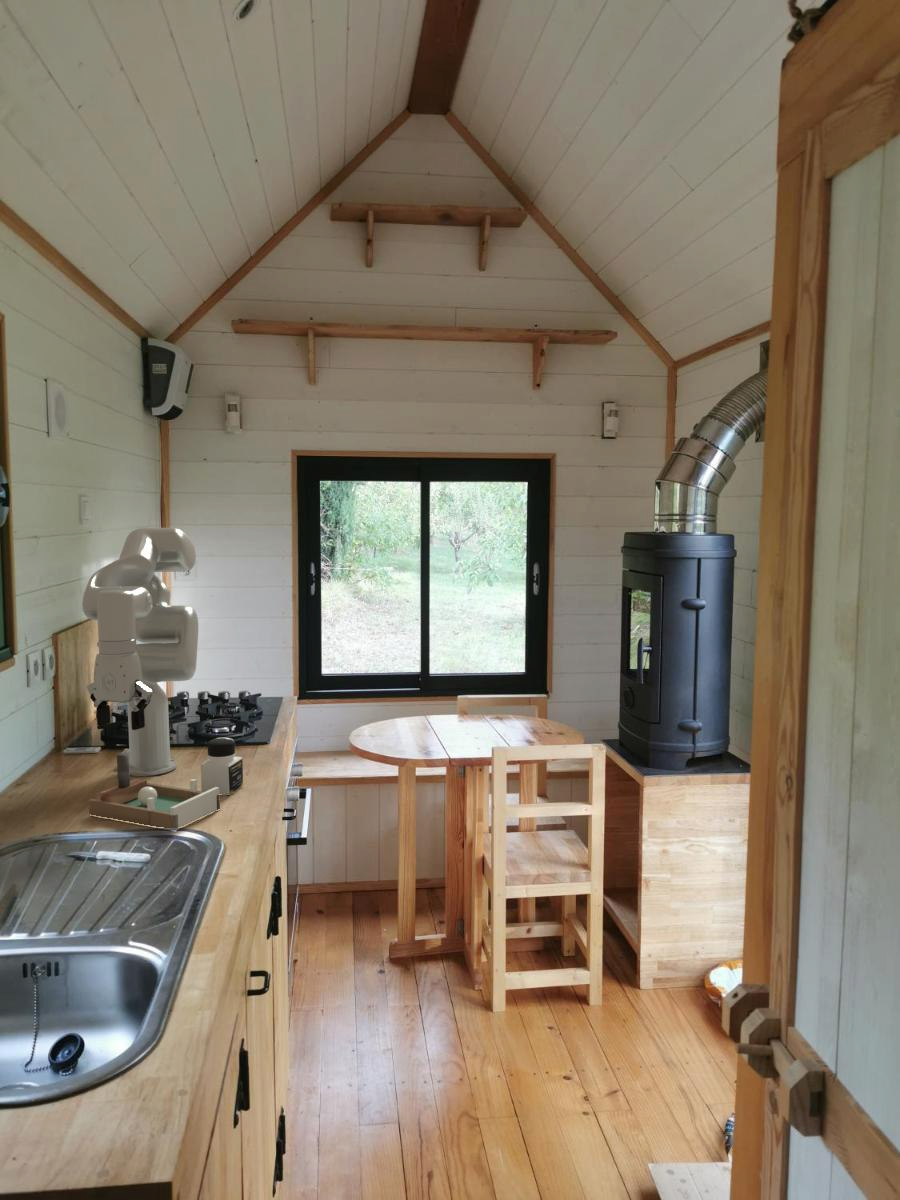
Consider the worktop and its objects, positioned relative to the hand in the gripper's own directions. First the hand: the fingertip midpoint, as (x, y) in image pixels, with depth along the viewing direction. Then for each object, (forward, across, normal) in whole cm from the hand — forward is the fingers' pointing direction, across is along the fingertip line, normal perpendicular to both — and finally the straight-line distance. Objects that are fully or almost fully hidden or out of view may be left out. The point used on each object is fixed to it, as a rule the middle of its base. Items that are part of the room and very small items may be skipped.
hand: (120, 726), depth 187 cm
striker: (+16, 0, +1) cm, 16 cm away
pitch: (+18, +8, +1) cm, 20 cm away
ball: (+15, +6, +1) cm, 16 cm away
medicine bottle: (+18, +12, +19) cm, 28 cm away
